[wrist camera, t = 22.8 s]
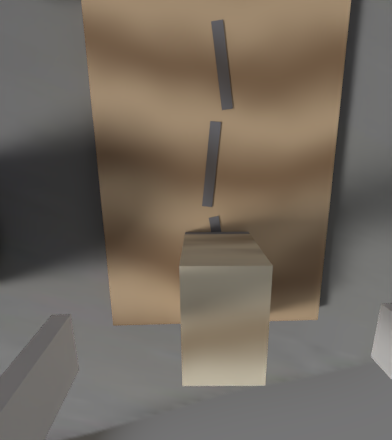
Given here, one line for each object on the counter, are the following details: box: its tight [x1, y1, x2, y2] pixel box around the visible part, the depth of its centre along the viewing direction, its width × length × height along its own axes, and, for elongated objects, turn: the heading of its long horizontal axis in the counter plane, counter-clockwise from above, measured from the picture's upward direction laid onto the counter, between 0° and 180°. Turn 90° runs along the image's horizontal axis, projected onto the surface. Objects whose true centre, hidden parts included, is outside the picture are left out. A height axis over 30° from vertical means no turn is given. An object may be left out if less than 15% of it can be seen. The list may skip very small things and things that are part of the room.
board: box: [81, 0, 351, 325], centre depth 18 cm, size 24×16×2 cm, turn 1°
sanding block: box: [179, 232, 273, 386], centre depth 16 cm, size 7×4×6 cm, turn 1°
